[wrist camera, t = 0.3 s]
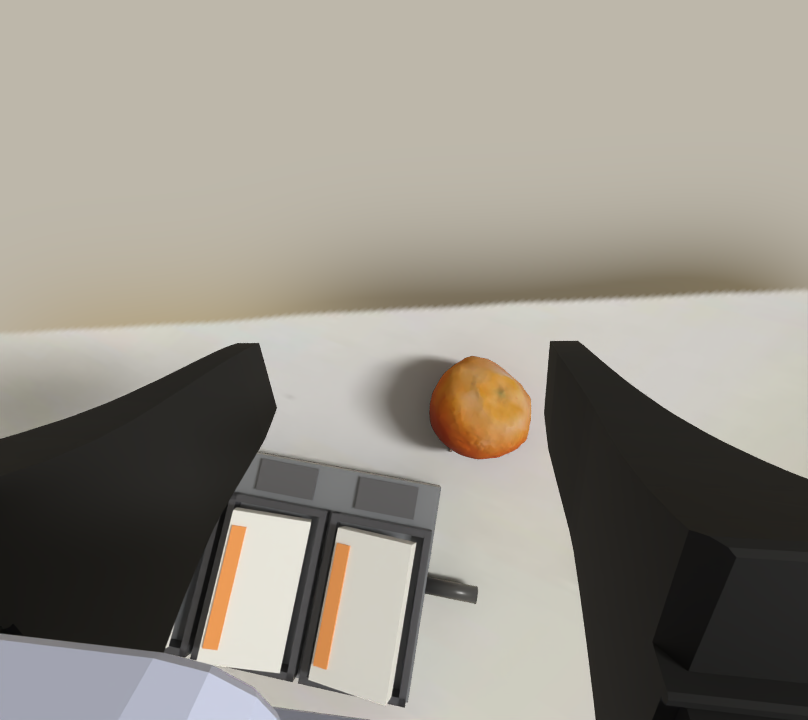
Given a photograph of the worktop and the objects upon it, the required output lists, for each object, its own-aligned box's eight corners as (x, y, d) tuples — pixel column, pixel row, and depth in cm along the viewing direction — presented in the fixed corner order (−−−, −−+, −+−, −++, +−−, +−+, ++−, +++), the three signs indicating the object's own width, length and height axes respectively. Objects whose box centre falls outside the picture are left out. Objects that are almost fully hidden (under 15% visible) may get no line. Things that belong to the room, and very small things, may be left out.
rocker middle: (281, 663, 33) (279, 674, 32) (201, 654, 32) (195, 664, 31) (311, 519, 35) (311, 522, 34) (236, 507, 34) (232, 510, 33)
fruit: (391, 403, 39) (436, 363, 33) (458, 374, 44) (509, 334, 37) (438, 490, 37) (495, 466, 31) (502, 451, 42) (563, 422, 35)
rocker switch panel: (460, 694, 35) (465, 724, 31) (120, 618, 38) (83, 637, 34) (487, 494, 39) (494, 498, 34) (171, 436, 41) (142, 433, 37)
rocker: (391, 696, 31) (384, 707, 30) (316, 671, 33) (307, 680, 31) (416, 542, 33) (411, 545, 32) (345, 525, 35) (337, 527, 33)
